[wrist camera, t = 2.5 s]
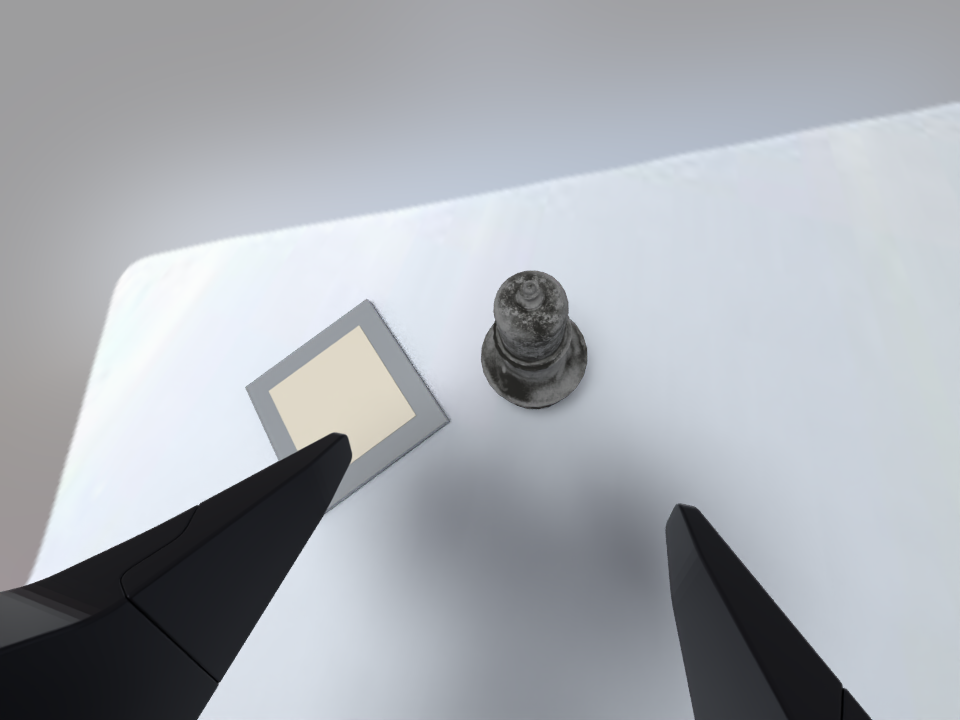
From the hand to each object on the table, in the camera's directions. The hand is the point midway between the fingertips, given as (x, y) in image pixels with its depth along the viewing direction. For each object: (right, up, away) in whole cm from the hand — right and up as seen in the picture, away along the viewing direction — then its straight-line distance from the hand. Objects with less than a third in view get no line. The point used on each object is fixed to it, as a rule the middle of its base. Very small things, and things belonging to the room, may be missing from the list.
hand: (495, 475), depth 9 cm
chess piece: (+3, +2, +13) cm, 14 cm away
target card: (-10, 0, +15) cm, 18 cm away
